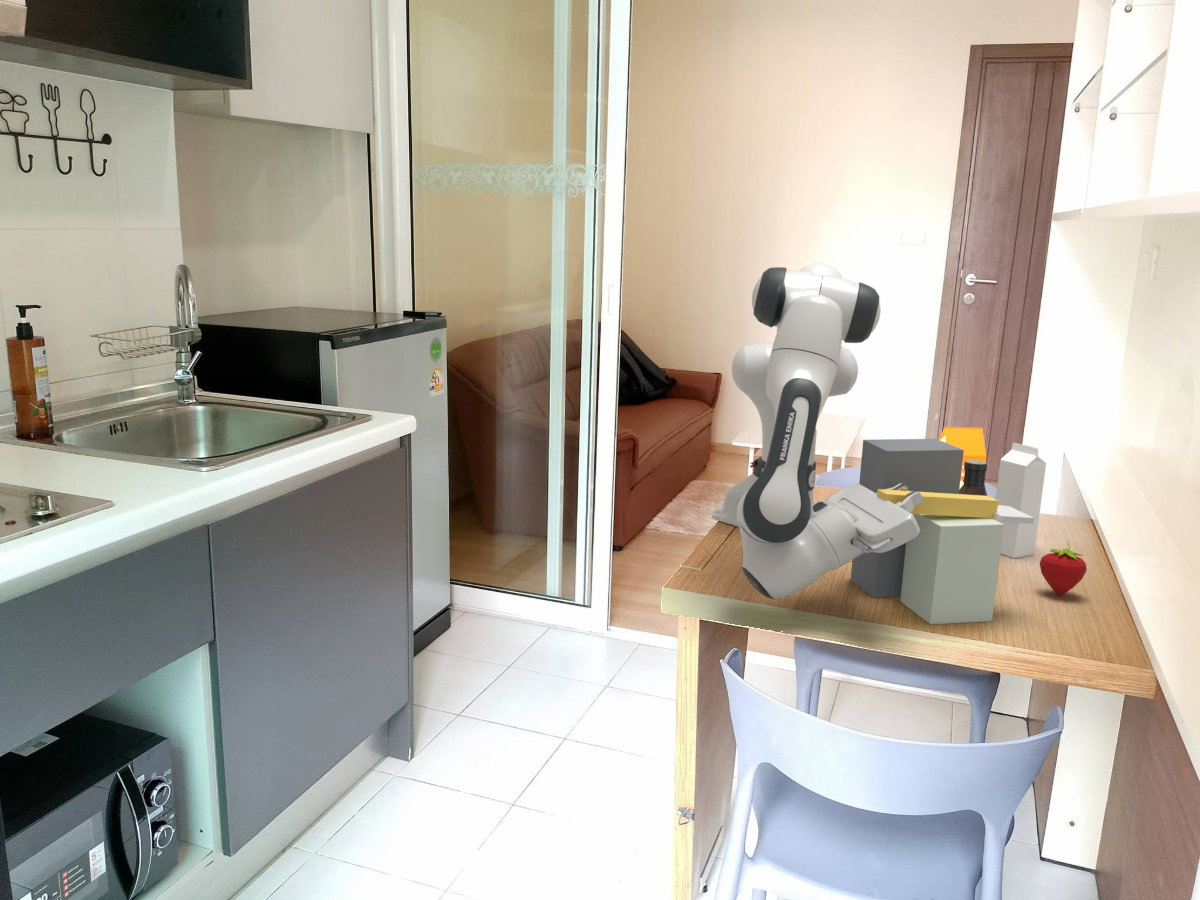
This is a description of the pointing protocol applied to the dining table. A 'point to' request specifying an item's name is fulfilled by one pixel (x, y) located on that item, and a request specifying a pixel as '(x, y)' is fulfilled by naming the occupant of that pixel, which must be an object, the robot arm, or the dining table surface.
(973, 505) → the plate
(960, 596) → the sage green upright block
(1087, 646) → the dining table surface
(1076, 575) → the strawberry
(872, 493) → the robot arm
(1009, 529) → the milk
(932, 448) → the tall stand
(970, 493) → the sauce bottle
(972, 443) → the orange juice
